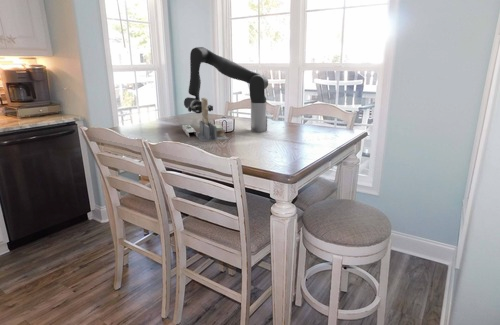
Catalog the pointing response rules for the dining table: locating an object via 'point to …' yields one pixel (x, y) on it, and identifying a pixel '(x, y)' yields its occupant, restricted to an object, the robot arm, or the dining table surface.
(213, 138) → the rack
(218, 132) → the offcut
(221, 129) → the offcut
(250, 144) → the dining table surface
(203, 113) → the brown wooden board
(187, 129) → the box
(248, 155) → the dining table surface
